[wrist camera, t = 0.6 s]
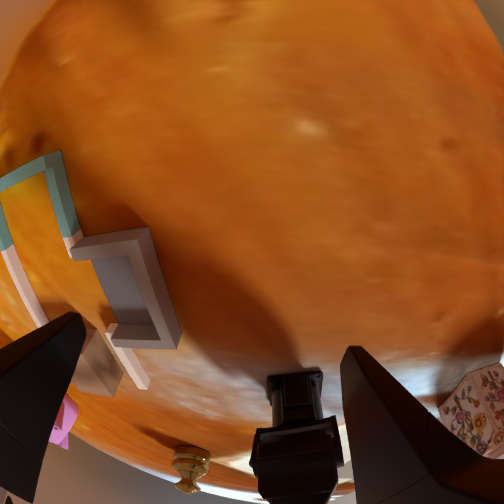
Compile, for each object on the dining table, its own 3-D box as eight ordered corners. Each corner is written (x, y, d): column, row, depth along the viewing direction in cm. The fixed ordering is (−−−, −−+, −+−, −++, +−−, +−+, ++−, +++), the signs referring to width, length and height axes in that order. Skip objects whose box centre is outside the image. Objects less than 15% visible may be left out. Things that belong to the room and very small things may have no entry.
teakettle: (8, 339, 31) (-24, 385, 20) (82, 390, 35) (57, 446, 24) (20, 379, 38) (-2, 418, 27) (80, 419, 42) (63, 462, 31)
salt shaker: (218, 455, 43) (214, 497, 34) (192, 458, 45) (187, 496, 36) (193, 443, 40) (186, 488, 31) (167, 446, 42) (158, 487, 33)
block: (124, 371, 31) (113, 397, 27) (91, 367, 31) (79, 390, 27) (98, 327, 27) (82, 354, 23) (64, 325, 28) (48, 349, 24)
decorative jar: (501, 360, 31) (537, 426, 15) (472, 397, 37) (498, 459, 21) (466, 371, 31) (504, 452, 15) (435, 409, 37) (460, 482, 20)
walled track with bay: (202, 382, 30) (199, 398, 28) (76, 370, 32) (69, 382, 30) (127, 126, 17) (111, 127, 15) (-9, 186, 19) (-23, 192, 17)
